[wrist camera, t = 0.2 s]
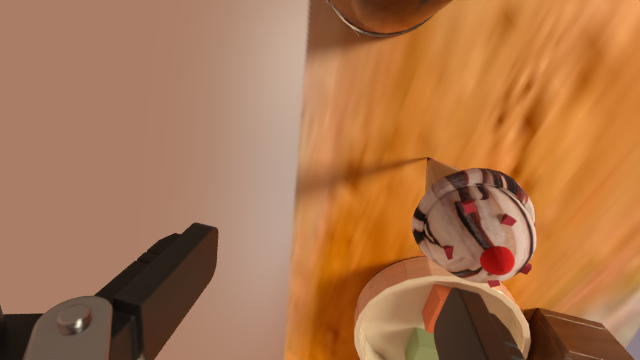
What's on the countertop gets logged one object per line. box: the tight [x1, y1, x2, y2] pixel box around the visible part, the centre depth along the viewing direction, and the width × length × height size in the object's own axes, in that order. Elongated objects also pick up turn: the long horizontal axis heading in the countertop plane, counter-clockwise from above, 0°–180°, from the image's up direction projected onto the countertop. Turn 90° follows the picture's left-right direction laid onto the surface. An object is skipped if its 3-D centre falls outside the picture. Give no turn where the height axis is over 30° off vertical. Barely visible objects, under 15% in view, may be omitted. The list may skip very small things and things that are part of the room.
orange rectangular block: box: [422, 284, 452, 334], centre depth 29 cm, size 4×3×2 cm
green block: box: [405, 327, 439, 360], centre depth 31 cm, size 4×3×2 cm
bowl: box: [354, 256, 531, 360], centre depth 30 cm, size 16×16×3 cm
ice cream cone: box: [412, 157, 536, 288], centre depth 18 cm, size 6×6×15 cm
